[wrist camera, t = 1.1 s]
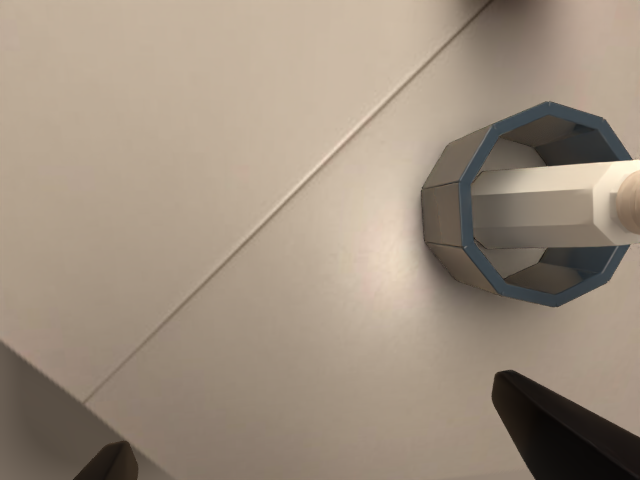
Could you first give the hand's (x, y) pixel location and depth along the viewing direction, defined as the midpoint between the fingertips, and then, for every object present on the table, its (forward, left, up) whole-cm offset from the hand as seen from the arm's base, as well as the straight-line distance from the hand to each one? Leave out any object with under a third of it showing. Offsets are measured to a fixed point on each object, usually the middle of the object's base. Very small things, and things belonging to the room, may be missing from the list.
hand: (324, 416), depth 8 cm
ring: (0, -14, -13) cm, 19 cm away
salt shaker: (0, -14, -13) cm, 19 cm away
